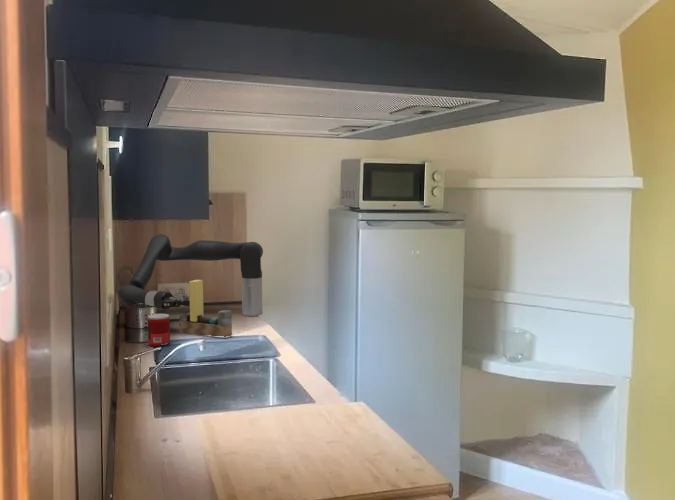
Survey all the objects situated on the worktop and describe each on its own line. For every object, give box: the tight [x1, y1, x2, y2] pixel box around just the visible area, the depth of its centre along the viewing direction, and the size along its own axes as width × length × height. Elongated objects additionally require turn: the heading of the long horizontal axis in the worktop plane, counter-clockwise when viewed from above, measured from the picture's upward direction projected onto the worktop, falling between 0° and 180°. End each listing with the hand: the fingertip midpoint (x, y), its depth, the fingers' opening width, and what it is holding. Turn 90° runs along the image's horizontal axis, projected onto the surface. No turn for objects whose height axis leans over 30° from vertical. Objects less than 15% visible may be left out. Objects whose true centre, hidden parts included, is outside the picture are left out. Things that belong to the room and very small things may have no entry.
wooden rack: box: [178, 309, 233, 337], centre depth 266 cm, size 23×4×10 cm, turn 63°
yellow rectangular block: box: [188, 279, 205, 322], centre depth 267 cm, size 3×5×16 cm, turn 153°
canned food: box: [147, 313, 171, 347], centre depth 251 cm, size 8×8×11 cm
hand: (192, 303), depth 267 cm, fingers closed
